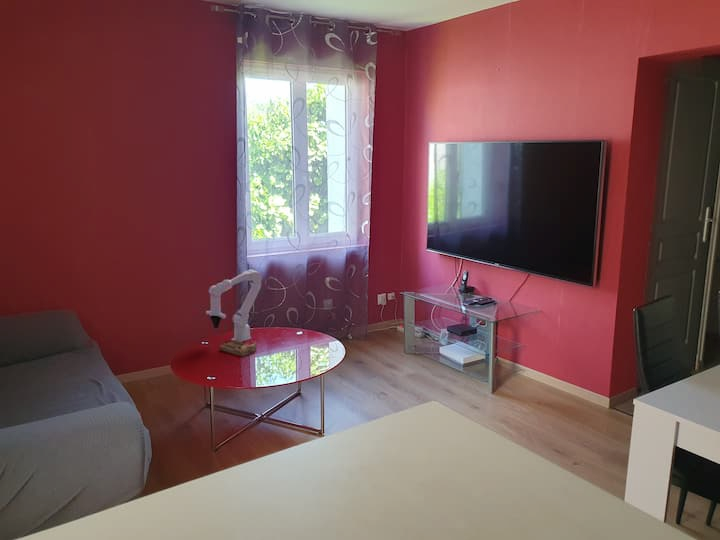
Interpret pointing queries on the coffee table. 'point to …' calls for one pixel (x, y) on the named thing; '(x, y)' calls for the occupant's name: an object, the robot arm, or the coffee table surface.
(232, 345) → the board
